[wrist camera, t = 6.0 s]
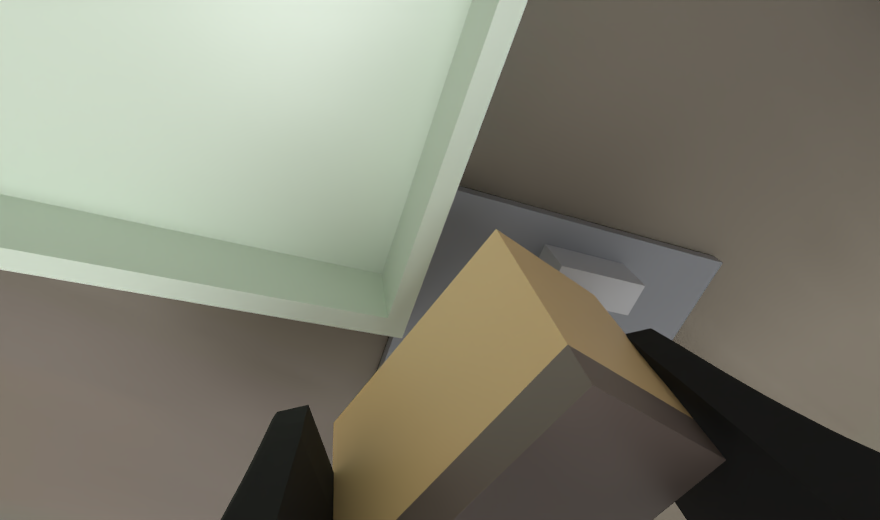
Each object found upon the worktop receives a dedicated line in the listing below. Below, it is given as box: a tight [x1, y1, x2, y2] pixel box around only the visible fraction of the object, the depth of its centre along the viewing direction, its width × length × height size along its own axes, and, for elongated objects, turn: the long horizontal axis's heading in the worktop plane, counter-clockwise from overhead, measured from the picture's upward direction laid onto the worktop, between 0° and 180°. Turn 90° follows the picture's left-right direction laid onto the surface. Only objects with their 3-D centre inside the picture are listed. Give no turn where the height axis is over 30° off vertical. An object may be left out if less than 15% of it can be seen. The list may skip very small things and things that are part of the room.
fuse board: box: [377, 186, 722, 371], centre depth 21 cm, size 11×22×2 cm, turn 161°
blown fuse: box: [333, 229, 726, 520], centre depth 10 cm, size 3×6×4 cm, turn 142°
